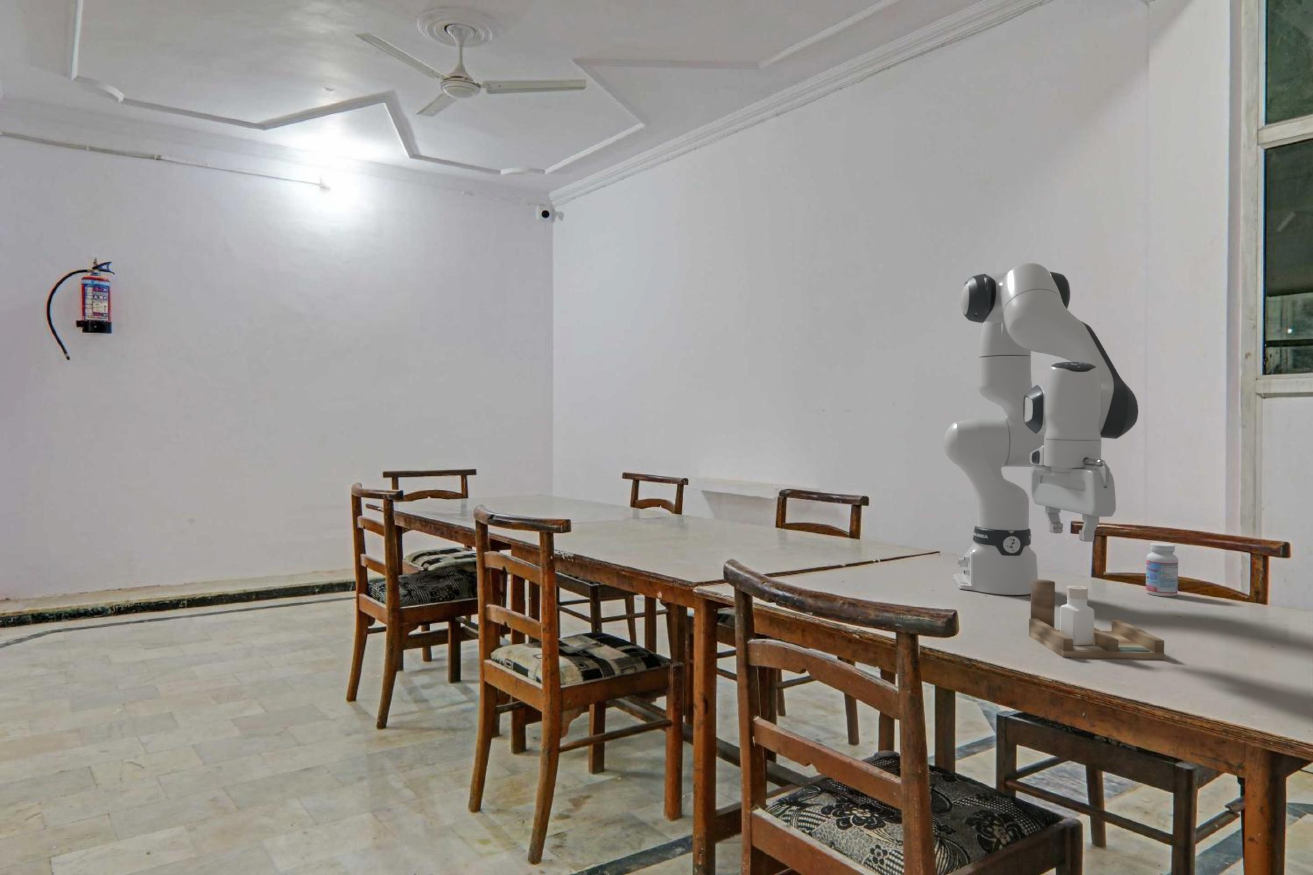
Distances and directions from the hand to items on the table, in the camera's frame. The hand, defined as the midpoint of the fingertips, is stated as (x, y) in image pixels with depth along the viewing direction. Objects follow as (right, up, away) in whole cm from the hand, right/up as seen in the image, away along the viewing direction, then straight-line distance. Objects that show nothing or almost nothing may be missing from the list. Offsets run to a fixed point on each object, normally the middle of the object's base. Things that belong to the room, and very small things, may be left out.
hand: (1070, 536), depth 144 cm
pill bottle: (+41, -18, +43) cm, 62 cm away
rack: (+3, -19, -1) cm, 19 cm away
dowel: (0, -18, +10) cm, 21 cm away
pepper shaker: (0, -18, -3) cm, 18 cm away
